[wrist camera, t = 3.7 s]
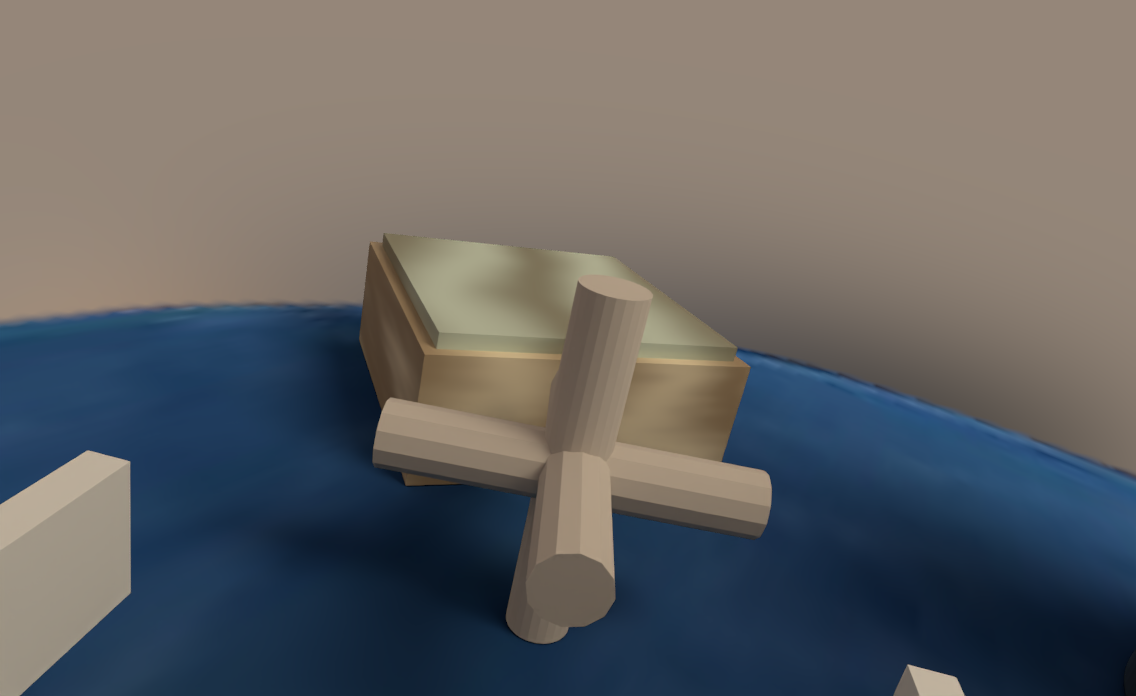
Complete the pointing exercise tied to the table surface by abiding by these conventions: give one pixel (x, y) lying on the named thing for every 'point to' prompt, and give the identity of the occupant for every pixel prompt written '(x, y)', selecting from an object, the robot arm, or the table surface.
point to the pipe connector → (575, 467)
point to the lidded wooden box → (533, 342)
